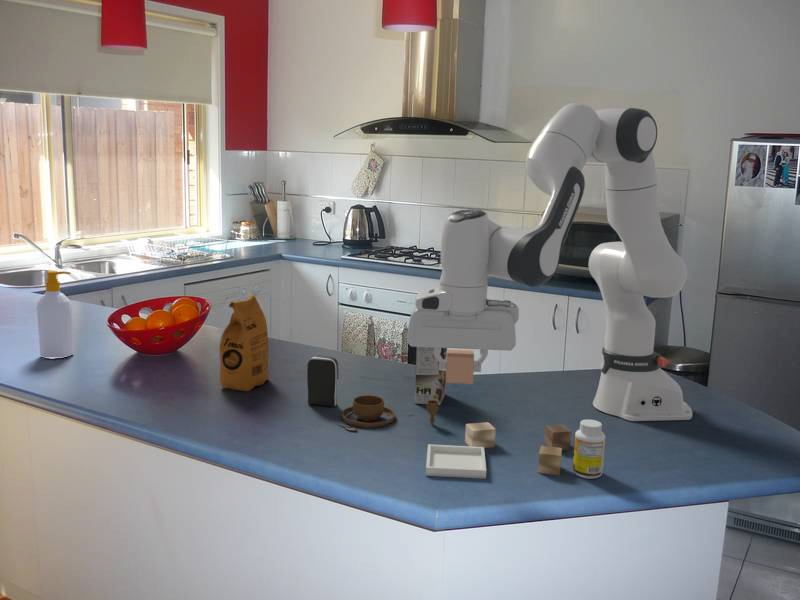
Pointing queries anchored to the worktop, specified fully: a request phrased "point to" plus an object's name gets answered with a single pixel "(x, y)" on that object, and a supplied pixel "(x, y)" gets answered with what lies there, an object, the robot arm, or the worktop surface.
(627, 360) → the robot arm
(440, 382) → the coffee box
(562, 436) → the walnut block
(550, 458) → the oak block
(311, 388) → the battery charger
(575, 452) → the supplement bottle
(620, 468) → the worktop surface
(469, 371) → the terracotta block
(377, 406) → the place setting
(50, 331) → the soap bottle
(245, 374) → the coffee package
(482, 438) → the beech block
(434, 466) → the tray
